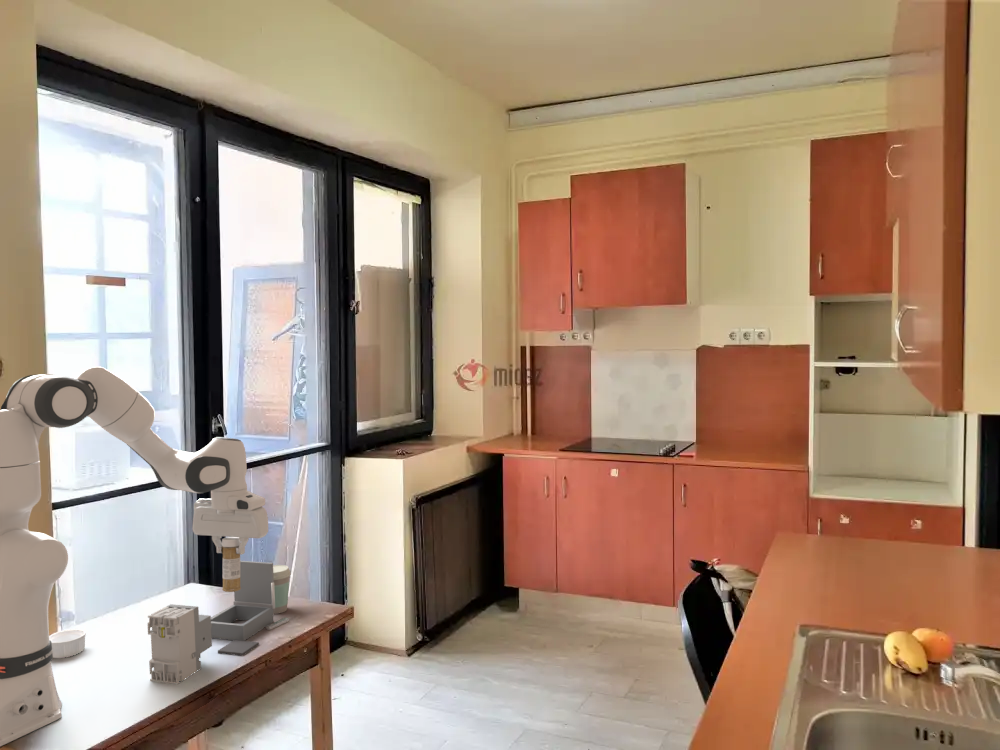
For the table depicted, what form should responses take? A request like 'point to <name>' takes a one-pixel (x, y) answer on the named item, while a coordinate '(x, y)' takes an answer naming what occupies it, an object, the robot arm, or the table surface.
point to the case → (248, 603)
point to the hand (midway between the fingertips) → (230, 553)
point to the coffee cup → (281, 587)
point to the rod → (277, 623)
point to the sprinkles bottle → (231, 564)
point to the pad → (238, 647)
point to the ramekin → (67, 643)
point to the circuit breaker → (177, 642)
